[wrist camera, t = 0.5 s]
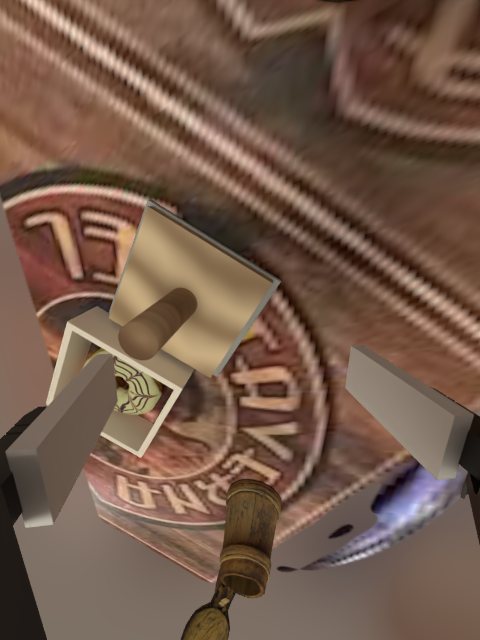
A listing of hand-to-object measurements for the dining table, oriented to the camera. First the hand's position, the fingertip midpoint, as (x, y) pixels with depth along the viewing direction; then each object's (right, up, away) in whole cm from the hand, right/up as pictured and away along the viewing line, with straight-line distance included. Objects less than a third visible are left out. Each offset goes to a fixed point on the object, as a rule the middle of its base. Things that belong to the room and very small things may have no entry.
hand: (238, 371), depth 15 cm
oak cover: (-6, +5, +16) cm, 18 cm away
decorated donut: (-16, -5, +24) cm, 29 cm away
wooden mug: (+1, -28, +30) cm, 41 cm away
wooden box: (-16, -5, +24) cm, 29 cm away
